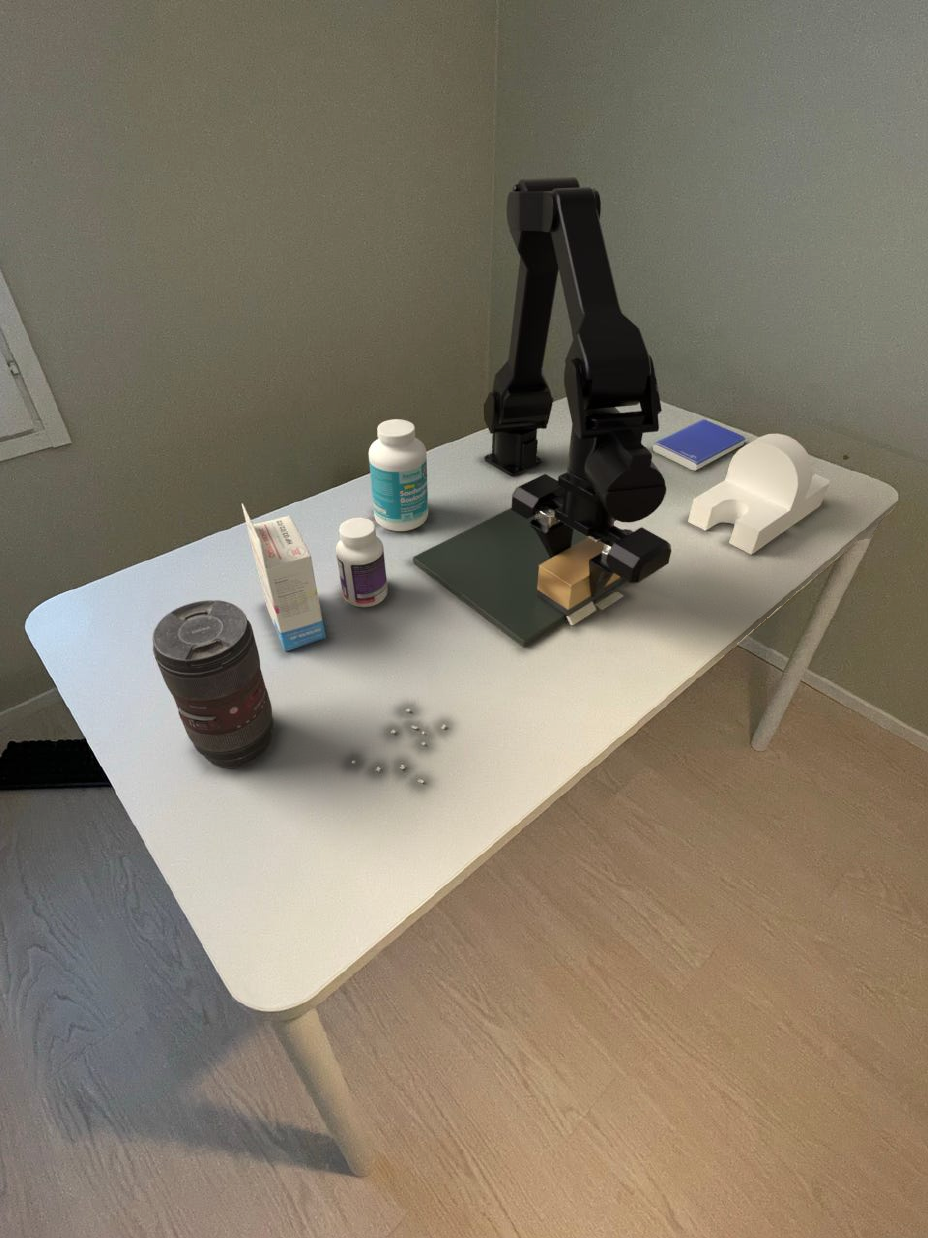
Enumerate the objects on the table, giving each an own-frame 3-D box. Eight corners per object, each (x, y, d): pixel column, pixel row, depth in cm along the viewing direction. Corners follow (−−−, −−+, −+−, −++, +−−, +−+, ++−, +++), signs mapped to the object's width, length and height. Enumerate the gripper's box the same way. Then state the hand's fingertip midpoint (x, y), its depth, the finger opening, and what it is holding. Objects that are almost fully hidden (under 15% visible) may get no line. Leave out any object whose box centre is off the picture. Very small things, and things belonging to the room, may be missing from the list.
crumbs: (390, 703, 72) (390, 702, 72) (454, 724, 70) (454, 723, 70) (351, 762, 66) (351, 762, 66) (420, 787, 64) (420, 787, 64)
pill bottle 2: (409, 539, 93) (403, 447, 84) (363, 523, 96) (353, 432, 86) (439, 512, 98) (436, 422, 89) (394, 497, 100) (387, 408, 91)
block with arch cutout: (751, 555, 91) (777, 480, 83) (687, 521, 96) (706, 448, 88) (822, 504, 99) (851, 432, 92) (760, 476, 105) (783, 406, 97)
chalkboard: (413, 563, 89) (412, 557, 89) (536, 500, 100) (536, 494, 99) (523, 647, 78) (523, 641, 77) (648, 567, 89) (650, 561, 88)
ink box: (328, 639, 79) (308, 531, 69) (284, 653, 77) (258, 544, 67) (306, 594, 85) (285, 489, 75) (265, 607, 83) (238, 500, 73)
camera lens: (293, 749, 68) (263, 638, 58) (210, 788, 65) (163, 677, 54) (262, 696, 73) (230, 584, 63) (184, 730, 70) (137, 618, 59)
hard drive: (697, 462, 105) (746, 436, 110) (654, 441, 109) (702, 417, 115) (695, 471, 106) (743, 445, 112) (652, 450, 110) (700, 426, 116)
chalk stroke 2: (601, 612, 83) (601, 609, 83) (593, 608, 84) (594, 604, 83) (623, 598, 85) (623, 595, 85) (615, 594, 86) (616, 590, 85)
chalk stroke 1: (570, 625, 81) (573, 625, 80) (566, 616, 81) (568, 615, 80) (593, 610, 83) (596, 610, 82) (589, 601, 83) (592, 600, 82)
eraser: (536, 595, 83) (538, 564, 80) (587, 564, 87) (592, 534, 84) (567, 616, 80) (571, 586, 77) (619, 583, 84) (624, 553, 81)
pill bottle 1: (396, 586, 86) (390, 520, 79) (373, 613, 82) (365, 546, 76) (357, 575, 87) (349, 509, 81) (334, 601, 84) (323, 534, 77)
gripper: (718, 476, 71) (685, 594, 82) (581, 412, 82) (567, 524, 92) (648, 517, 66) (623, 637, 76) (511, 443, 76) (505, 558, 87)
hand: (578, 584), depth 83 cm, fingers closed on eraser, 5 cm apart
